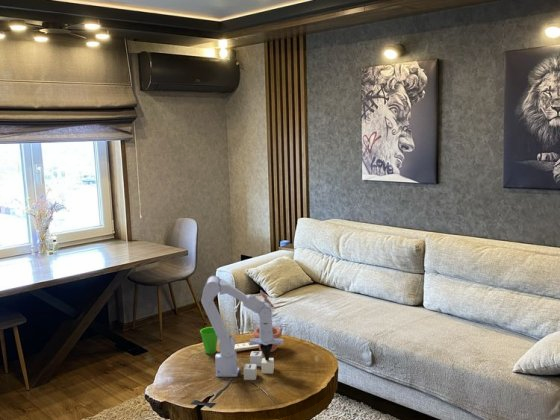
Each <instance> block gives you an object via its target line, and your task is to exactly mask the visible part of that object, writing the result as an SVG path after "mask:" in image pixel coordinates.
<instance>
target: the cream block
mask: <svg viewBox="0 0 560 420" xmlns="http://www.w3.org/2000/svg"><path fill="white" fill-rule="evenodd" d="M274 360H275V359H274V357H269V360H265V357H262V362H261V366H260V367H261V374H274V370H275V361H274Z"/></svg>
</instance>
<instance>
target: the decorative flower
mask: <svg viewBox="0 0 560 420" xmlns="http://www.w3.org/2000/svg"><path fill="white" fill-rule="evenodd" d="M259 291H260V292H259V294H260V295H261V297H262V298H263V301H264V302H268V303H269V304H270V305H271V308H272V309H277V308H276V307H275V305H274V304H273V303H272V301H270V299H269V298H268V295H267V294H266V293H265V292H264V291H263V290H262V289H260V290H259ZM256 324H257V325H259V322H256ZM272 331H273V338H277V339H280V338H281V337H282V335H283V332H282V329H280V327H276V326H273V325H272ZM252 336H253V337H254V339H257V338H260V330H259V327H257V328H255V329H254V330H253V334H252ZM257 345H258V348H259V349H258V350H259V351H262V350H261V348H260V344H257ZM277 347H278V344H273V346H272V349H271V351H270V353H272V352H275V351H276V350H277ZM262 353H263V351H262Z"/></svg>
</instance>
